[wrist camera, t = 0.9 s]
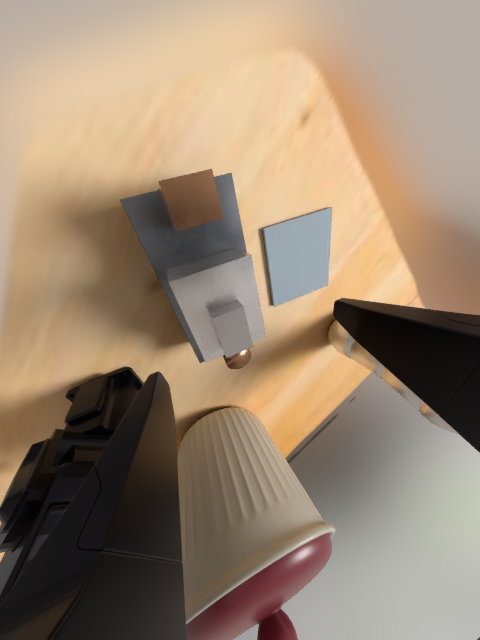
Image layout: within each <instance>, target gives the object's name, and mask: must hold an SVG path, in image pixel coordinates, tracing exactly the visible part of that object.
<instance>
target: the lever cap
mask: <svg viewBox="0 0 480 640" xmlns="http://www.w3.org/2000/svg"><path fill="white" fill-rule="evenodd" d="M167 274H168V282H169V284H170V287H171V289H172V291H173V293H174V295H175V297H176V299H177V302H178V304H179V306H180V308H181V310H182V312H183V315H184V317H185V319H186V321H187V323H188V325H189V327H190V330H191V332H192V334H193V336H194V338H195V340H196V343H197V345H198V347H199V349H200V351H201V353H202V355H203V358H204V360H205V362H208V361H211V360H213V359H215V358H218V357H220V356H222V355H225V356H226V358H228V357H230V356H232V355H235V354H237V353H239V352H242V351H244V350H246V349H248V348H251V347H253V342H255V341H257V340H260V339H262V338H264V337H266V334H265V329H264V323H263V318H262V312H261V307H260V301H259V296H258V290H257V284H256V279H255V273H254V268H253V262H252V257H251V254H249V253H247V252H245V251H242V250H240V249H238V248H236V247H235V248H232V249H229V250H226V251H223V252H220V253H217V254H214V255H211V256H208V257H204V258H201V259H198V260H195V261H192V262H189V263H186V264H183V265H180V266H177V267H173V268H170V269H167Z"/></svg>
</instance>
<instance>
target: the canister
mask: <svg viewBox="0 0 480 640" xmlns="http://www.w3.org/2000/svg"><path fill="white" fill-rule="evenodd" d="M177 465H178V484H179V503H180V522H181V542H182V563H183V578H184V597H185V616H186V635H187V640H232V639H234V638H236V637H237V636H239V635H241V634H242V633H244V632H245V631H247V630H248V629H249V628H251V627H253V626H254V625H256V624H259V629H258V637H257V640H298V638H297V634H296V631H295V629H294V626H293V624H292V622H291V620H290V619H289V617H288V616H287V614H285V612H284V611H282V610H281V606H282V605H283V604H284V603H286V602H287V601H288V600H289V599H291V598H292V597H293V596H294V595H295V594H297V593H298V592H299V591H300V590H301V589H302V588H304V587H305V586H306V585H307V584H308V583H309V582H310V581H311V580H312V579H313V578H314V577H315V576H316V575H317V574H318V573H319V572H320V571H321V570H322V569H323V567H324V566H325V565H326V563H327V562H328V560H329V558H330V556H331V551H332V542H331V538H332V537H333V535H334V533H335V528H334V527H333V526H332V525H331V524H329V523H325V522H324V521H323V519H322V518H321V516H320V514H319V513H318V511H317V510H316V508H315V507H314V505H313V503H312V501H311V500H310V498H309V496H308V495H307V493H306V492H305V490H304V488H303V487H302V485H301V484H300V482H299V480H298V479H297V477H296V476H295V474H294V473H293V471H292V469H291V468H290V466H289V464H288V463H287V461H286V460H285V458H284V456H283V455H282V453H281V452H280V450H279V448H278V447H277V445H276V444H275V442H274V441H273V439H272V438H271V436H270V435H269V433H268V432H267V430H266V429H265V427H264V426H263V424H262V423H261V421H260V420H259V419H258V418H257V417H256V416H255V415H254V414H253V413H252V412H250V411H248V410H246V409H243V408H238V407H235V408H232V407H230V408H224V409H219V410H218V411H214V412H212V413H209V414H208V415H206V416H203V417H202V418H201V419H200V420H198V421H197V422H196V423H194V424H193V425H192V427H190V428H189V429H188V431H187V432H186V434H185V435H184V437H183V439H182V441H181V444H180V448H179V452H178V459H177Z"/></svg>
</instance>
